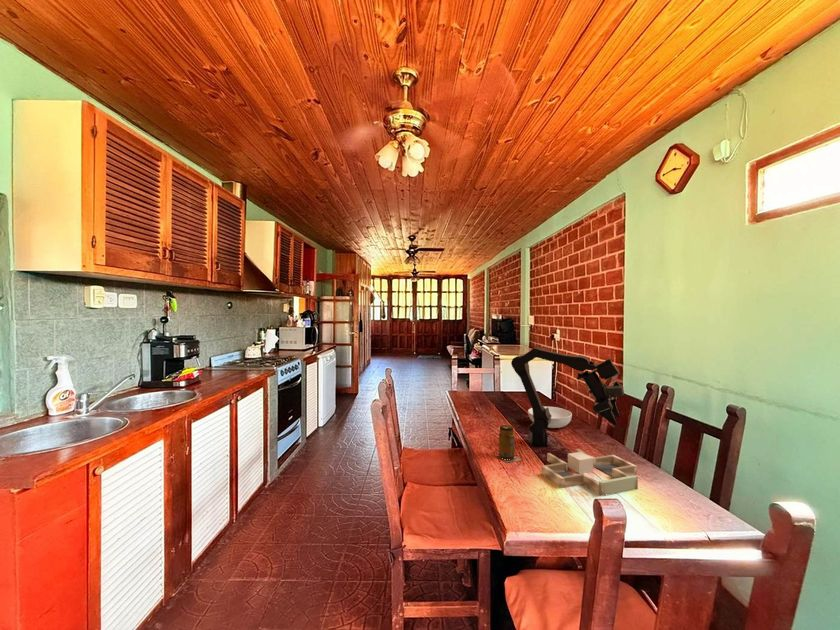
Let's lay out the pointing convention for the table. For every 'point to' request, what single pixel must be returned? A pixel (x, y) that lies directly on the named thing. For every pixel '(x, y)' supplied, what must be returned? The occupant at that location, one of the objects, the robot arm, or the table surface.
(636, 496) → the table surface
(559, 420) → the serving bowl
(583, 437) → the table surface
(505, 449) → the condiment
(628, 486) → the box
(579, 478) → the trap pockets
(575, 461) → the block
